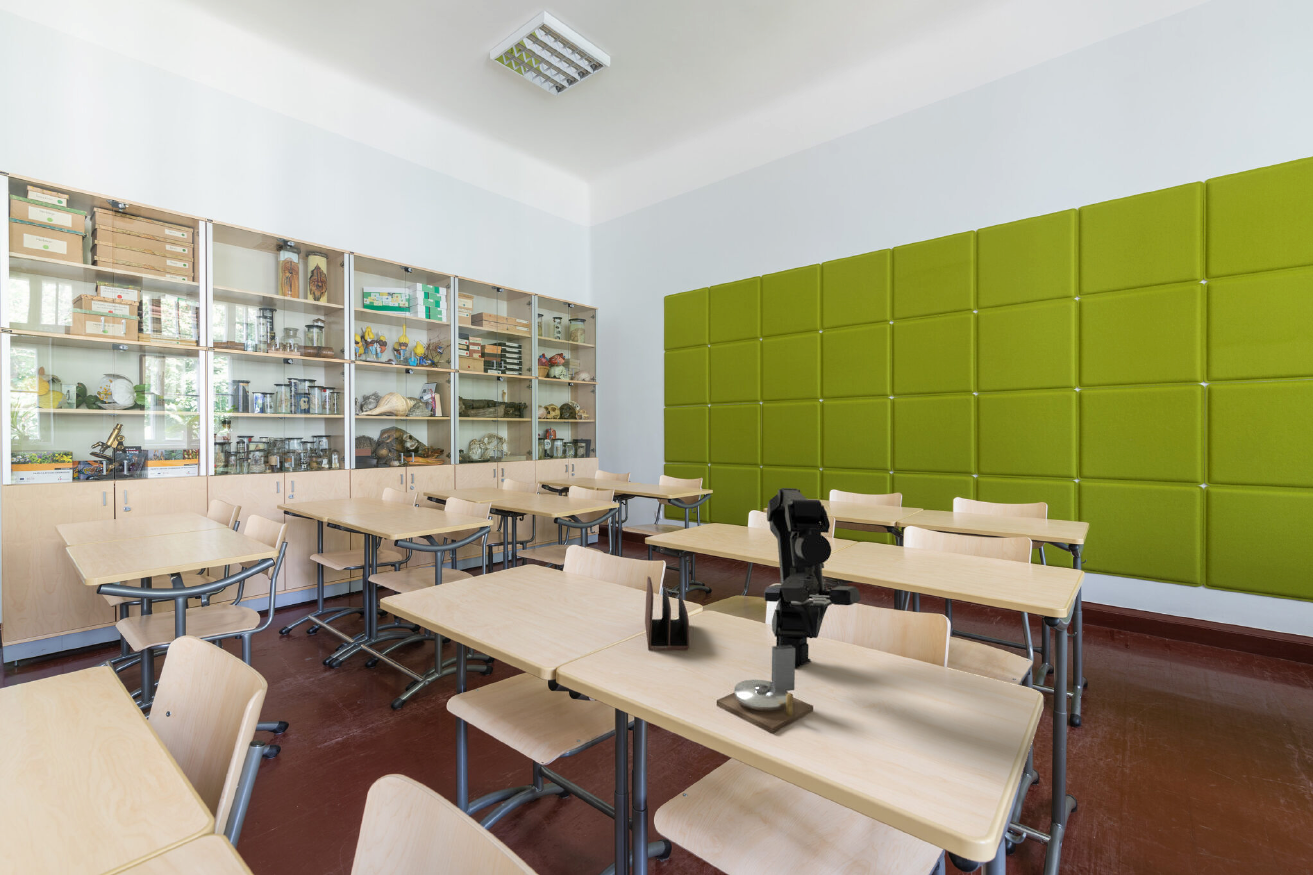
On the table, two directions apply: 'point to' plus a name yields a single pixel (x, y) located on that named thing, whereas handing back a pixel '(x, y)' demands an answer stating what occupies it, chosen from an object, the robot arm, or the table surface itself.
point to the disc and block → (770, 683)
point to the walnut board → (767, 712)
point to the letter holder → (666, 624)
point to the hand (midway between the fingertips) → (814, 637)
